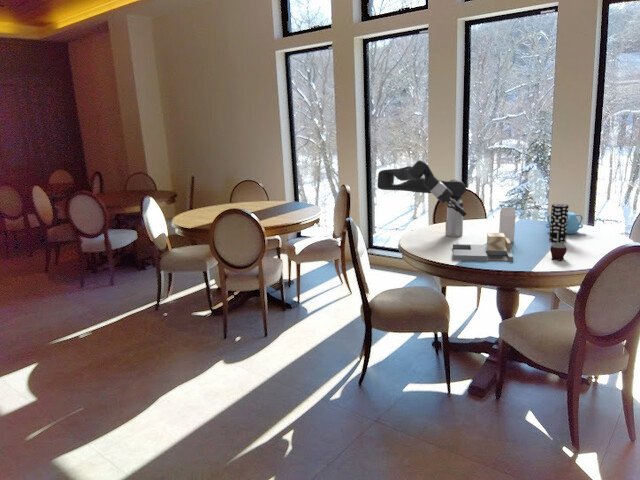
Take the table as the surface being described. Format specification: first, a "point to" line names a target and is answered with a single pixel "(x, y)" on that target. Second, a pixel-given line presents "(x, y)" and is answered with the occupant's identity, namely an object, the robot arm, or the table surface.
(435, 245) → the table surface
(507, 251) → the trap deck
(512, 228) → the milk carton
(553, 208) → the white-spotted black cylinder
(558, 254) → the mate gourd
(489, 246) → the beech block
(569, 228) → the decorative pot
